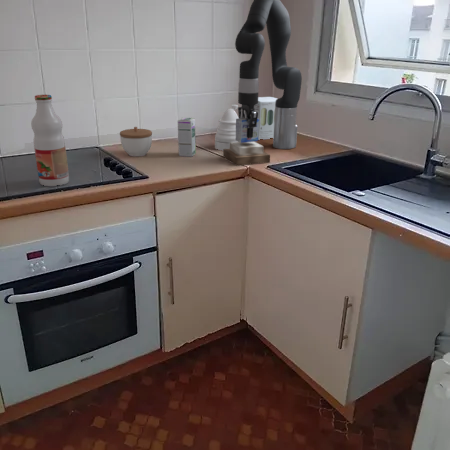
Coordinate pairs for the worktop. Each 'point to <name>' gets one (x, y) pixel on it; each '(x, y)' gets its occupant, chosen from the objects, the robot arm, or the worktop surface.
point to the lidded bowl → (136, 141)
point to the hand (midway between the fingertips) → (247, 136)
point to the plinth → (246, 158)
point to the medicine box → (245, 131)
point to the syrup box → (186, 137)
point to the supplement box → (266, 116)
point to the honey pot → (226, 129)
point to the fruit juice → (49, 144)
